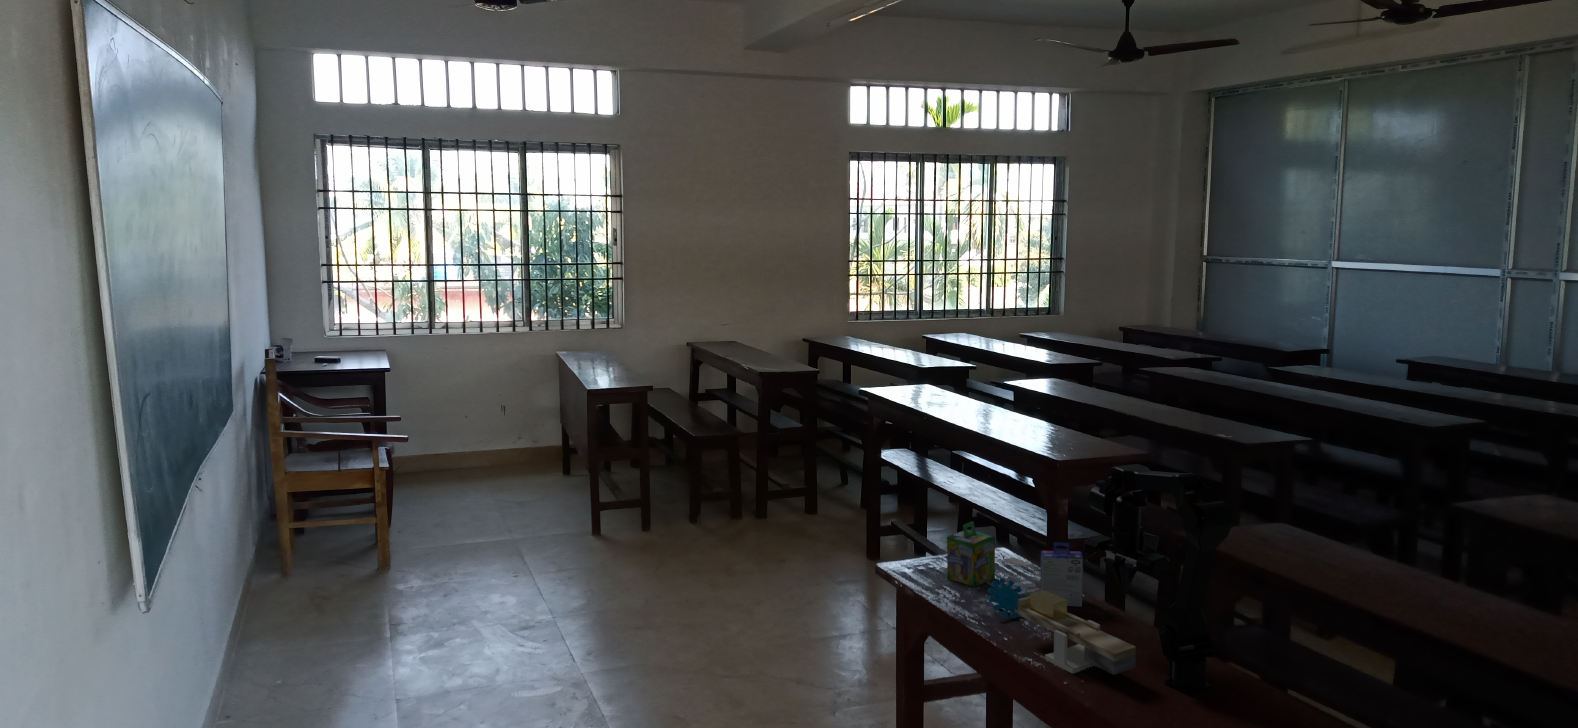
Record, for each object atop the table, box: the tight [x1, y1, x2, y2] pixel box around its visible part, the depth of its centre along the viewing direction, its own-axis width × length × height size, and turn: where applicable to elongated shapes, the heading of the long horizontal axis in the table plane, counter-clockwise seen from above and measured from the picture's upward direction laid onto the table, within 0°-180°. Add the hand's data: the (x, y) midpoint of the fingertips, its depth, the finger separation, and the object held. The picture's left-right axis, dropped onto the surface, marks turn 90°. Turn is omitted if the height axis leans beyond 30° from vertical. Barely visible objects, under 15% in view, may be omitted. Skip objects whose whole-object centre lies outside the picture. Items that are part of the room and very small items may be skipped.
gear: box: [987, 577, 1031, 620], centre depth 243 cm, size 11×6×10 cm
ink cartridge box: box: [1040, 541, 1084, 607], centre depth 247 cm, size 10×6×14 cm, turn 78°
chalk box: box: [946, 520, 996, 588], centre depth 264 cm, size 9×9×15 cm
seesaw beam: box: [1017, 596, 1137, 676], centre depth 217 cm, size 28×8×6 cm, turn 30°
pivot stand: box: [1044, 619, 1101, 675], centre depth 216 cm, size 8×10×7 cm
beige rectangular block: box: [1029, 590, 1068, 621], centre depth 223 cm, size 7×4×4 cm, turn 30°
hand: (1124, 591), depth 222 cm, fingers closed
